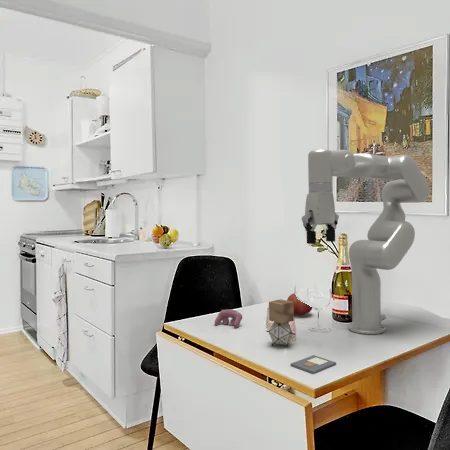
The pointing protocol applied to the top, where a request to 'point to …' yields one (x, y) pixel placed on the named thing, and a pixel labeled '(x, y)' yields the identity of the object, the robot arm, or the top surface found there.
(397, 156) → the robot arm
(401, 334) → the top surface
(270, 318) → the walnut block
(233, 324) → the video game controller
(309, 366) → the card
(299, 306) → the fruit
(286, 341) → the game die
